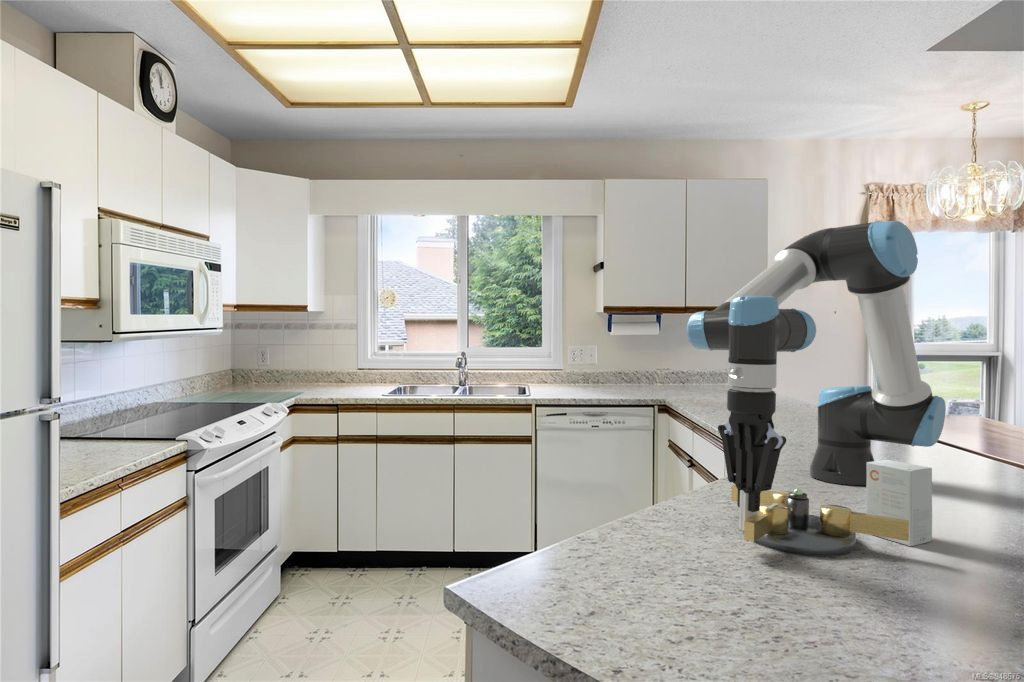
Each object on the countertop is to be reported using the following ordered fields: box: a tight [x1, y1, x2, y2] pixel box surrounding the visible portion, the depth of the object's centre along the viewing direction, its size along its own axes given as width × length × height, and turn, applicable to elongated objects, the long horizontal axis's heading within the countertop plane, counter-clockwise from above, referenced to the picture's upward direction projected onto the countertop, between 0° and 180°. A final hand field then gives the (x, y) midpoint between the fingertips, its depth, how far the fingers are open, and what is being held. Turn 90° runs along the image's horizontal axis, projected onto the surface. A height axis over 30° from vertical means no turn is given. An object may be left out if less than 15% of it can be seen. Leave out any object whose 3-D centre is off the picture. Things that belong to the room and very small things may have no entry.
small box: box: [865, 459, 933, 547], centre depth 108 cm, size 8×6×13 cm
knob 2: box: [743, 503, 788, 543], centre depth 102 cm, size 13×5×4 cm, turn 137°
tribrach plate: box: [742, 488, 857, 557], centre depth 107 cm, size 18×18×9 cm
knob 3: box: [819, 504, 909, 541], centre depth 101 cm, size 13×5×4 cm, turn 54°
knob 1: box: [731, 484, 791, 507], centre depth 116 cm, size 13×5×4 cm, turn 40°
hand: (747, 528), depth 101 cm, fingers closed
